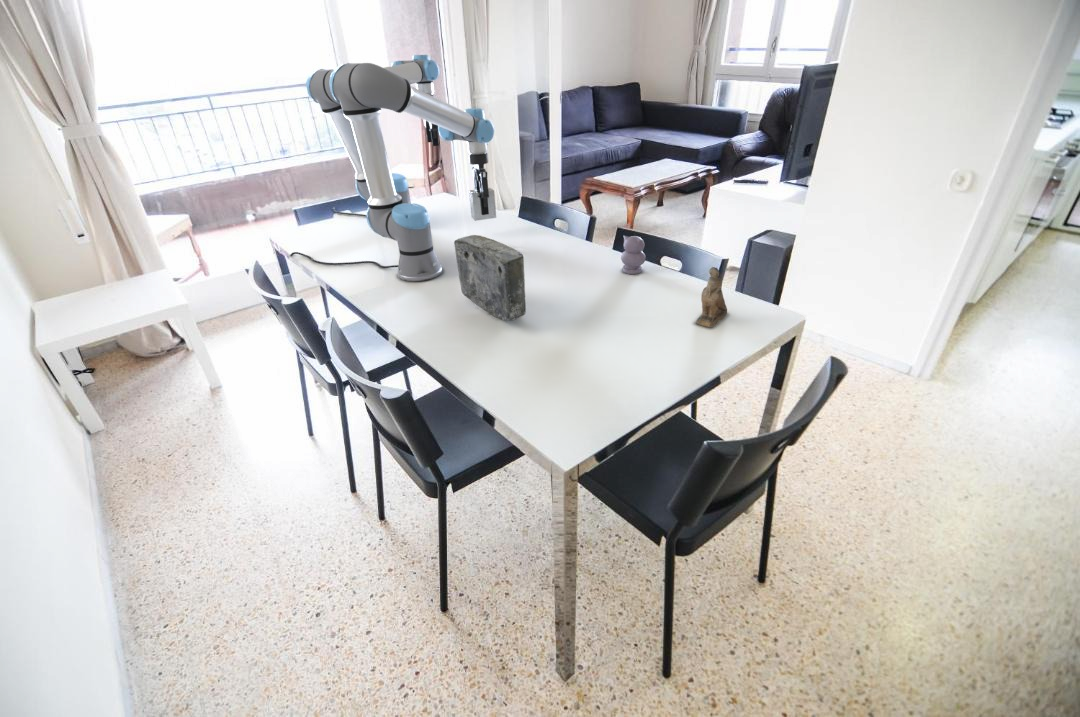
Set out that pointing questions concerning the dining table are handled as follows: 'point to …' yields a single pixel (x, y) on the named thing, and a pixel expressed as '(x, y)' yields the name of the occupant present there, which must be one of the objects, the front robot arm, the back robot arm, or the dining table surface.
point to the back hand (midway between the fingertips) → (433, 144)
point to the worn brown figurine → (712, 301)
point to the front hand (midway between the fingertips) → (483, 212)
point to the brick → (476, 205)
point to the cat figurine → (633, 254)
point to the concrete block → (492, 276)
